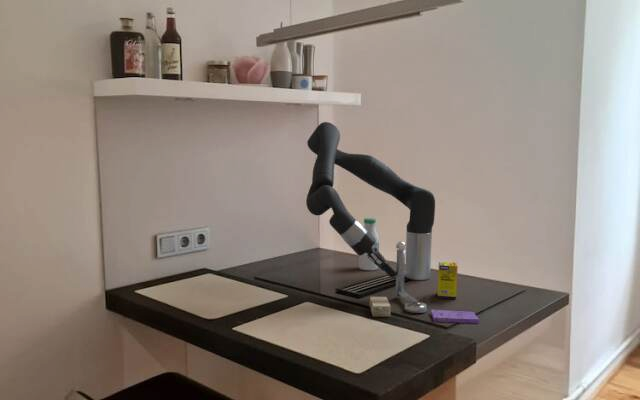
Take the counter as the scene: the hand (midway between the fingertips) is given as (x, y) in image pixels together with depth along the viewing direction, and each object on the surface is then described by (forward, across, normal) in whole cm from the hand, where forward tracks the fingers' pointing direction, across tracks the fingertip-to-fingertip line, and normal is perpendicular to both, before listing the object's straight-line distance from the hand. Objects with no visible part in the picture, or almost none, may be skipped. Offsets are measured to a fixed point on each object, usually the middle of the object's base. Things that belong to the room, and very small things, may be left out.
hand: (394, 275), depth 178 cm
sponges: (+16, +20, +5) cm, 26 cm away
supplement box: (+18, -3, +8) cm, 20 cm away
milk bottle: (+3, -41, -9) cm, 42 cm away
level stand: (+1, +14, -9) cm, 17 cm away
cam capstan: (+7, +8, -2) cm, 11 cm away
